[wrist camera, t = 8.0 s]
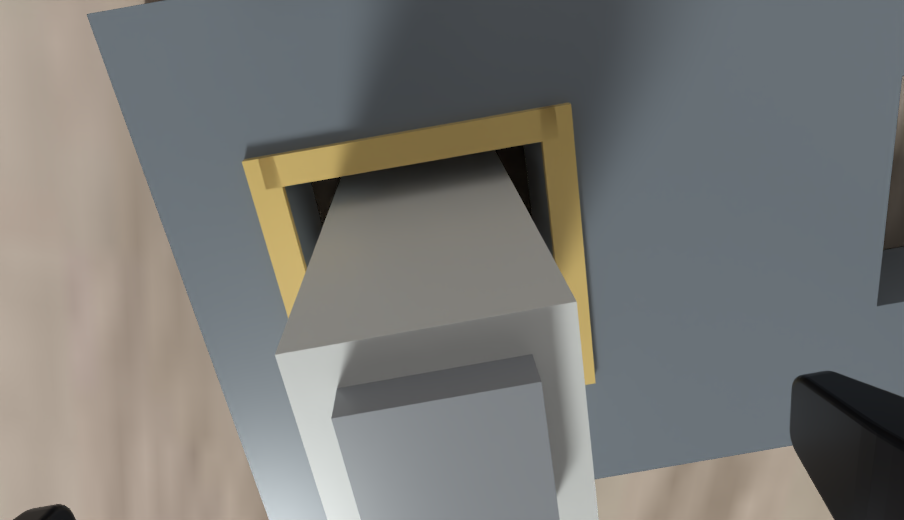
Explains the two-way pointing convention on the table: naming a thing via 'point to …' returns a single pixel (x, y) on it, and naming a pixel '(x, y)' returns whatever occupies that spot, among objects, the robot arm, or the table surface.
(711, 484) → the table surface
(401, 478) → the plug
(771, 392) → the panel
